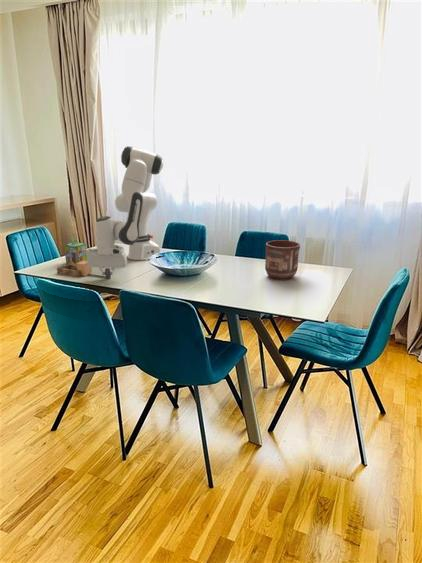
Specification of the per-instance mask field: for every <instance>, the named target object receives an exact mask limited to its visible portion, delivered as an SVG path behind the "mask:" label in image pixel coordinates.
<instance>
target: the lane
mask: <svg viewBox="0 0 422 563" xmlns="http://www.w3.org/2000/svg"><path fill="white" fill-rule="evenodd" d="M56 270H57V274H58V275H62V276H63V275H64V276H69V275H70V277H75V276H77V277H76V278H82V276H81V271H77V265H74V264H67V265H66V264H64V265H62V266H59V267H57V268H56ZM92 271H93V270H91V273H92Z"/></svg>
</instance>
